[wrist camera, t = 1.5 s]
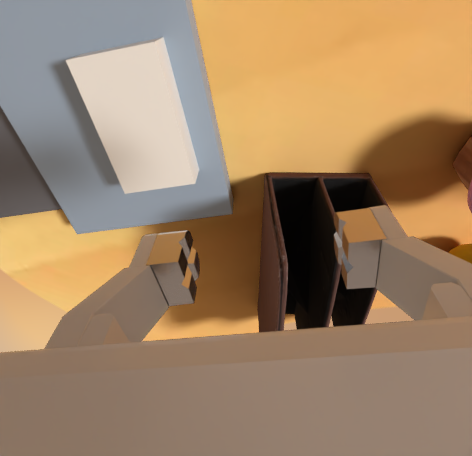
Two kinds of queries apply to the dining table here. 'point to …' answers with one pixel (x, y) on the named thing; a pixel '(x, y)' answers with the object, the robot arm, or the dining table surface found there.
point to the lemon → (463, 252)
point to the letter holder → (309, 250)
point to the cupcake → (465, 168)
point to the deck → (78, 118)
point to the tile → (137, 114)
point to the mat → (20, 177)
